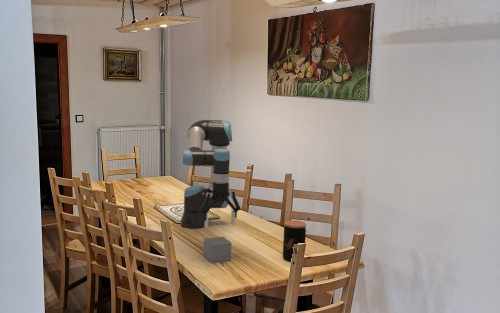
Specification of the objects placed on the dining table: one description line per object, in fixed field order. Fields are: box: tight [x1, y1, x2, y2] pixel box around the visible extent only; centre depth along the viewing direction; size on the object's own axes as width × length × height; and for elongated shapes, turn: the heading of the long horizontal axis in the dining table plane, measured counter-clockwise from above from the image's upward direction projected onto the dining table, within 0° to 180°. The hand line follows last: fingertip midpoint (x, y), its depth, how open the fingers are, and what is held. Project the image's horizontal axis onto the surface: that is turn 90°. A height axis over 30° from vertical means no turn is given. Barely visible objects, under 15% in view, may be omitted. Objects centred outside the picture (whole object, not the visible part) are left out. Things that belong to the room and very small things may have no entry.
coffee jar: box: [282, 219, 307, 263], centre depth 232 cm, size 11×11×18 cm
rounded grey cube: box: [203, 236, 232, 264], centre depth 229 cm, size 10×10×9 cm
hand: (219, 225), depth 226 cm, fingers open, 13 cm apart
